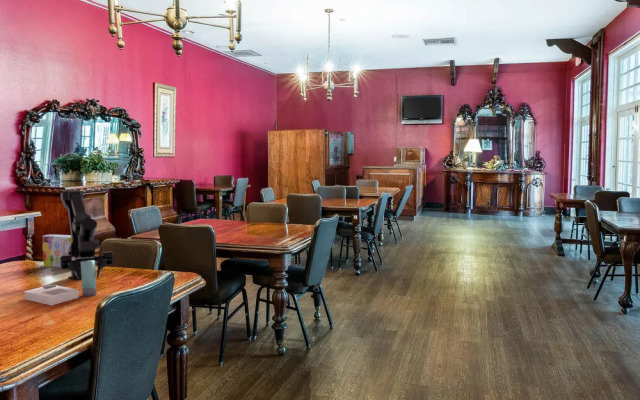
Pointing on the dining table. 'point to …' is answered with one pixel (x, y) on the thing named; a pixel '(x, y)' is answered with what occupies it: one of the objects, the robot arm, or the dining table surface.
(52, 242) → the snack box
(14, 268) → the dining table surface
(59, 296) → the socket plate
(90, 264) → the plug
